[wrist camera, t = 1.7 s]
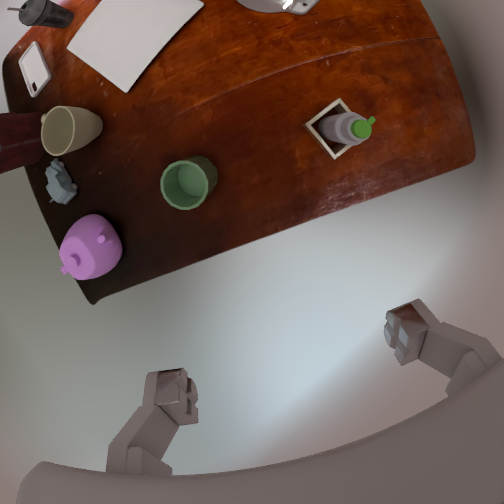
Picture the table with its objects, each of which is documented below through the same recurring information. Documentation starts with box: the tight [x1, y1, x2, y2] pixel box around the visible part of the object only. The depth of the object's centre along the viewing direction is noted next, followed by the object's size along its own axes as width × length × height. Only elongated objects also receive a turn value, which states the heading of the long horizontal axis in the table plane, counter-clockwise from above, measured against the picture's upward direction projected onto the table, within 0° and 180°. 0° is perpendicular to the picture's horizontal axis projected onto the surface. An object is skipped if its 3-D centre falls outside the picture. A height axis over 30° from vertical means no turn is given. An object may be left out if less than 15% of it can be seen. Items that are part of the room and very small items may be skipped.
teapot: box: [59, 214, 122, 280], centre depth 52 cm, size 20×13×12 cm, turn 120°
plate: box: [67, 0, 204, 93], centre depth 37 cm, size 22×22×2 cm
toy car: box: [46, 159, 77, 204], centre depth 51 cm, size 6×10×5 cm, turn 31°
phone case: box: [19, 41, 52, 97], centre depth 40 cm, size 7×1×15 cm
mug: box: [41, 106, 103, 156], centre depth 42 cm, size 11×10×12 cm
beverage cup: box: [7, 0, 74, 28], centre depth 27 cm, size 7×7×20 cm
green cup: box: [161, 156, 218, 210], centre depth 47 cm, size 8×8×8 cm
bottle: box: [319, 112, 376, 145], centre depth 36 cm, size 4×4×20 cm
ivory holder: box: [302, 98, 353, 160], centre depth 42 cm, size 7×7×6 cm
